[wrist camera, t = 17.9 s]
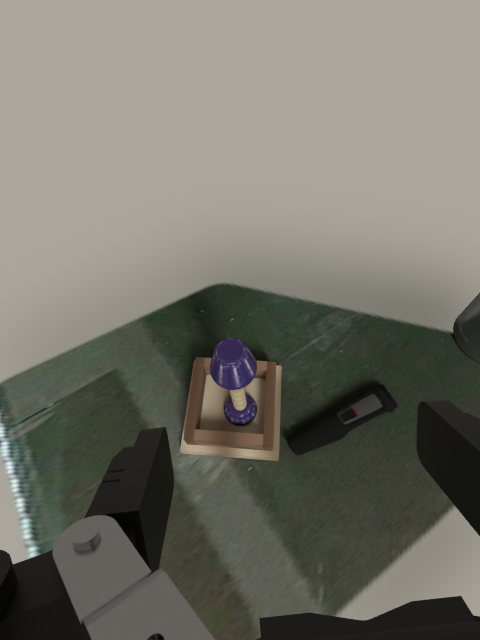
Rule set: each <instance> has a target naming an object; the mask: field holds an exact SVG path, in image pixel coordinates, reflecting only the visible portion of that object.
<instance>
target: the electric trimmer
mask: <svg viewBox="0 0 480 640" xmlns="http://www.w3.org/2000/svg"><path fill="white" fill-rule="evenodd" d="M396 407H398V405H397V403H396V402H395V400H394V399H393V398H392V396H391V395H390V393H389V392H388V391H387V389H386V388H385V386H384V385H381V386H375V387H373V388H372V389H371V390H369V391H367V392H366V393H364V394H362V395H361V396H359V397H357V398H356V399H354V400H352V401H350V402H349V403H347V404H345V405H343V406H341V407H339V408H337V409H335V410H332V411H329V412H327V413H325V414H323V415H322V416H320V417H318V418H317V419H315V420H314V421H312V422H311V423H309V424H308V425H306V426H304V427H303V428H301V429H300V430H298V431H297V432H295V433H294V434H292V435H291V436H290V437H289V438H288V441H287V442H288V445H289V447H290V449H291V450H292V451H293V452H294V453H295V454H296V455H301V454H304V453H307V452H309V451H312V450H314V449H317V448H319V447H322V446H325V445H327V444H330V443H332V442H335V441H337V440H339V439H341V438H343V437H344V436H345V435H346V434H347V433H348V432H349V431H351V430H352V429H354V428H355V427H357V426H359V425H361V424H363V423H365V422H367V421H369V420H371V419H373V418H375V417H377V416H379V415H381V414H383V413H386V412H393V411H394V409H395V408H396Z"/></svg>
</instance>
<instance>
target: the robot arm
mask: <svg viewBox="0 0 480 640" xmlns="http://www.w3.org/2000/svg"><path fill="white" fill-rule="evenodd" d="M453 332H454V337H455V340H456V342H457V343H458V345H459V347H460V348H461V349H462V350H463V351H464V352H465V353H466V354H467V355H468V356H469V357H471V358H472V359H474V360H476V361H477V362H480V293H479V294H478V295H477V296H476V297H475V299H474V300H473V301H472V302H471V303H470V304H469V305H468V306H467V307H466V309H465V310H464V311H463V312H462V313H461V314H460V315H459V316H458V318H457V319H456V321H455V323H454V327H453ZM417 453H418V456H419V459H420V462H421V464H422V465H423V467H424V468H425V469H426V470H427V472H428V473H429V474H430V475H431V477H432V478H433V479H434V480H435V482H436V483H437V484H438V485H439V486H440V488H441V489H442V490H443V491H444V493H445V494H446V495H447V496H448V498H449V499H450V500H451V501H452V503H453V504H454V505H455V506H456V507H457V509H458V510H459V511H460V512H461V513H462V515H463V516H464V517H465V519H466V520H467V521H468V522H469V524H470V525H471V526H472V527H473V528H474V530H475V531H476V532H477V533H478V535H479V536H480V419H479V418H477V417H475V416H472V415H470V414H468V413H463V412H462V411H461V410H460V409H458V408H457V407H456V406H455V405H453V404H452V403H451V402H450V401H448V400H446V399H442V400H433V401H423V402H420V403H419V406H418V416H417ZM173 487H174V475H173V467H172V461H171V454H170V448H169V442H168V435H167V431H166V428H165V427H162V428H153V429H143V430H141V431H140V432H139V435H138V437H137V440H136V442H135V445H134V447H127V448H123V449H122V450H121V451H120V452H119V453H118V454H117V455H116V456H115V457H114V458H113V459H112V461H111V463H110V465H109V467H108V469H107V473H105V475H104V478H103V480H102V484H100V486H99V488H98V490H97V492H96V495H95V497H94V499H93V501H92V503H91V505H90V507H89V509H88V512H87V514H86V516H85V518H84V519H82V520H80V521H78V522H76V523H74V524H73V525H71V526H70V527H68V528H67V529H66V530H65V531H64V532H63V533H62V534H61V535H60V536H59V537H58V539H57V540H56V542H55V544H54V547H53V550H51V551H49V552H47V553H44V554H42V555H39V556H36V557H33V558H30V559H28V560H25V561H22V562H19V563H16V564H14V565H13V564H12V561H11V557H10V555H9V554H8V553H7V552H5V551H3V550H0V640H215V639H214V638H213V636H212V635H211V634H210V632H209V631H208V630H207V628H206V627H205V626H204V624H203V623H202V622H201V620H200V619H199V617H198V616H197V615H196V613H195V612H194V611H193V609H192V608H191V607H190V605H189V604H188V603H187V601H186V600H185V599H184V597H183V596H182V595H181V593H180V592H179V590H178V589H177V588H176V586H175V585H174V584H173V582H172V581H171V580H170V578H169V577H168V576H167V574H166V573H165V572H164V571H163V570H162V569H161V568H159V563H160V558H161V553H162V547H163V542H164V537H165V532H166V526H167V521H168V516H169V511H170V505H171V500H172V495H173ZM259 619H260V630H261V638H259V639H256V640H480V617H479V616H473V614H472V613H471V611H470V610H469V608H468V607H467V605H466V604H465V602H464V600H463V599H462V597H461V596H458V597H447V598H439V599H429V600H421V601H412V602H409V603H407V604H405V605H402V606H400V607H398V608H395V609H393V610H391V611H388V612H386V613H384V614H381V615H379V616H377V617H374V618H372V619H370V620H365V621H361V620H354V619H347V618H340V617H334V616H327V615H321V614H314V613H303V614H294V615H284V616H275V617H266V618H259Z"/></svg>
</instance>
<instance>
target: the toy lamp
mask: <svg viewBox="0 0 480 640" xmlns="http://www.w3.org/2000/svg"><path fill="white" fill-rule="evenodd" d="M256 372H257V363H256V359H255V357H254V356H253V354H252V353H251V351H250V350H249V349H248V347H247V346H246V345H245V344H244V343H243V342H242V341H241V340H239V339H237V338H225V339H223V340H221V341H220V342H219V343H218V344H217V345H216V347H215V349H214V352H213V356H212V359H211V363H210V373H211V377H212V379H213V380H214V382H215V383H216V384H217V385H219V386H220V387H222V388H224V389H227V390H229V392H230V395H231V396H230V397H229V398H228V399H227V401H226V403H225V406H224V414H225V416H226V419H227V420H228V421H229V422H230V423H231V424H233V425H236V426H245V425H247V424H249V423H250V422H252V421H253V420H254V418H255V416H256V414H257V405H256V402H255V400H254V399H253V398H252V397H251V396H250V395H248V394H246V393H245V389H244V387H246V386H247V385H249V384H250V383H251V381H252V380H253V379H254V377H255V375H256Z"/></svg>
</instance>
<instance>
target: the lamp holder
mask: <svg viewBox="0 0 480 640" xmlns="http://www.w3.org/2000/svg"><path fill="white" fill-rule="evenodd" d="M211 359H212V358H204V357H196V360H194V364H193V370H192V377H191V383H190V389H189V396H188V402H187V409H186V415H185V422H184V428H183V434H182V441H181V447H180V451H181V453H186V454H199V455H211V456H224V457H236V458H249V459H261V460H274V461H278V460H279V436H280V402H281V368H282V366H277V365H276V362H270V361H256V363H257V372H256V375H255V377H254V379H253V380H252V381H251V383H250V384H249V385H247V386H246V387H244V389H245V393H246V394H248V395H250V396H251V397H252V398H253V399H254V400H255V402H256V405H257V414H256V416H255V418H254V420H253V421H252V422H250V423H249V424H247V425H245V426H236V425H233V424H231V423H230V422H229V421H228V420H227V419H226V416H225V414H224V406H225V403H226V401H227V399H228V398H229V397H230V396H231V395H230V392H229V390H227V389H224V388H222V387H220V386H219V385H217V384H216V383H215V382H214V380H213V379H212V377H211V373H210V363H211Z"/></svg>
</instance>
